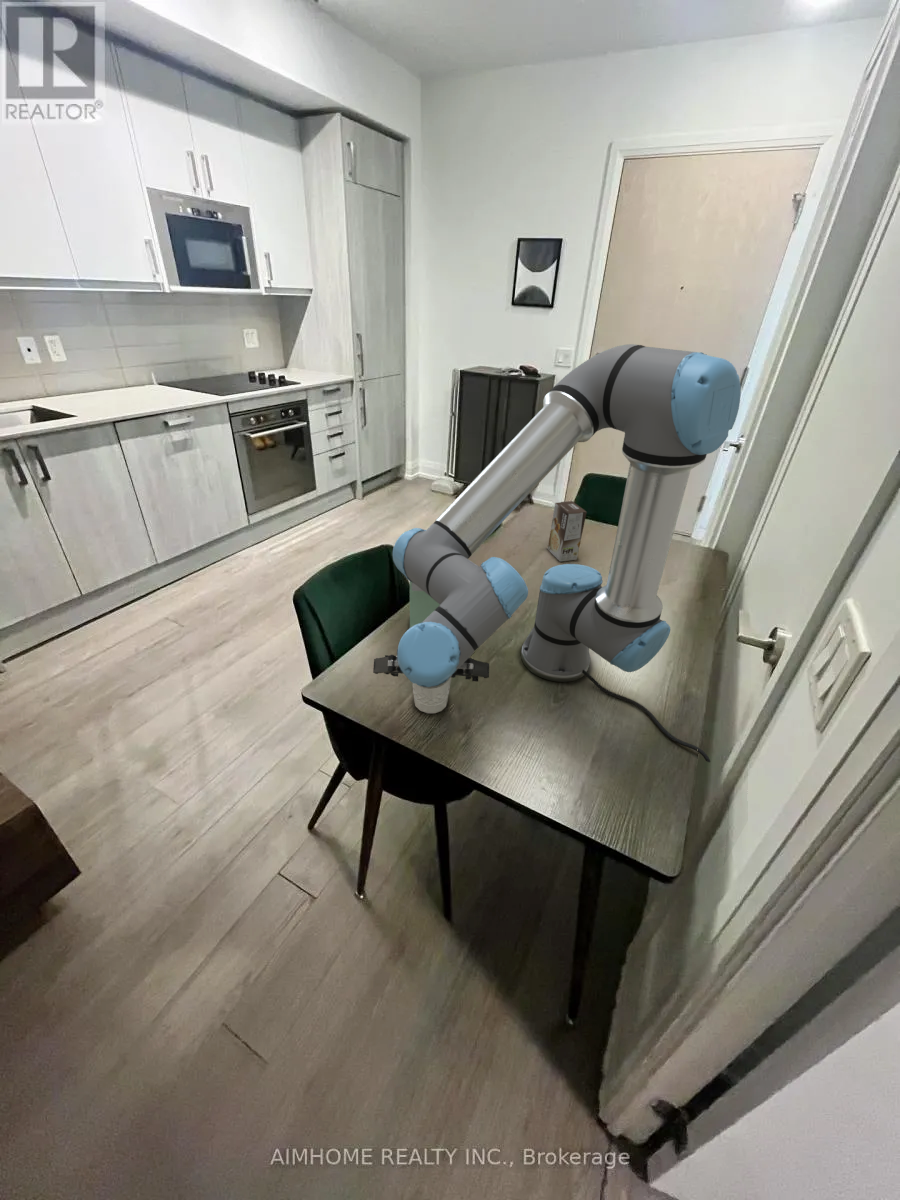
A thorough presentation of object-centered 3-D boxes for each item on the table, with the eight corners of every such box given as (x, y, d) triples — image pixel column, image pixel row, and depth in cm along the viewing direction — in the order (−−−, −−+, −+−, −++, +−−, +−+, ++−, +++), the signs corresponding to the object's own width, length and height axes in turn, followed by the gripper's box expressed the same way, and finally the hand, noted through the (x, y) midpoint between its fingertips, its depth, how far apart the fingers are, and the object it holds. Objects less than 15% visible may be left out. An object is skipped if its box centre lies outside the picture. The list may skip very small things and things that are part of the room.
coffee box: (577, 560, 152) (588, 512, 143) (559, 562, 150) (569, 513, 141) (563, 547, 159) (572, 500, 150) (546, 548, 157) (554, 502, 149)
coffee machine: (460, 672, 105) (466, 583, 93) (404, 670, 105) (404, 580, 93) (459, 619, 122) (465, 537, 110) (411, 617, 122) (412, 534, 110)
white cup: (445, 719, 94) (448, 680, 88) (406, 712, 95) (406, 673, 90) (453, 691, 100) (456, 654, 95) (416, 685, 102) (417, 647, 96)
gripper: (514, 640, 73) (497, 653, 94) (347, 633, 72) (368, 648, 93) (513, 691, 71) (496, 693, 92) (343, 684, 71) (365, 688, 92)
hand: (432, 670), depth 93 cm, fingers open, 13 cm apart
